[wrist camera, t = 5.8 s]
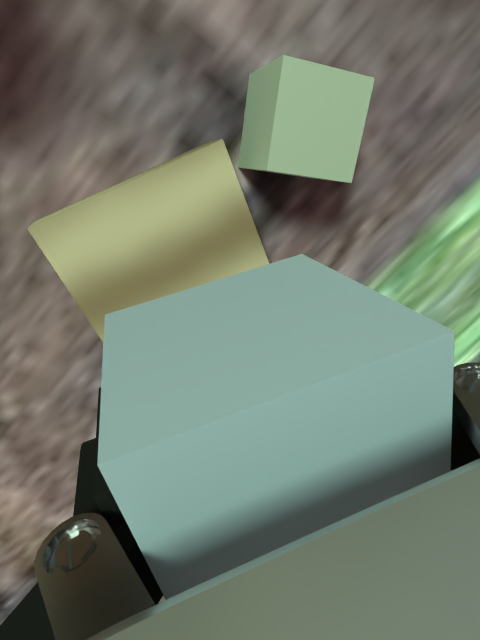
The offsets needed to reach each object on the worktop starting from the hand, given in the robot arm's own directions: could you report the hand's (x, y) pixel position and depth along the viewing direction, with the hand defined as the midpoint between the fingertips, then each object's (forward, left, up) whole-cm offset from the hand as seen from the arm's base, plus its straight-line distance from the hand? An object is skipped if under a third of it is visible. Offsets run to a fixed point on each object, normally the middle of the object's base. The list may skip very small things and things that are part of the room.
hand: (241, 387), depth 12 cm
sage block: (+6, -9, -15) cm, 19 cm away
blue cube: (0, 0, -1) cm, 1 cm away
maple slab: (0, 0, -16) cm, 16 cm away
